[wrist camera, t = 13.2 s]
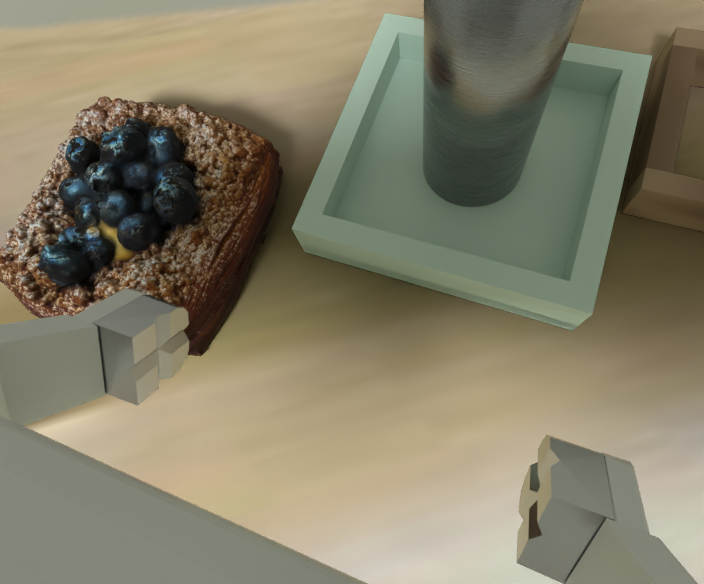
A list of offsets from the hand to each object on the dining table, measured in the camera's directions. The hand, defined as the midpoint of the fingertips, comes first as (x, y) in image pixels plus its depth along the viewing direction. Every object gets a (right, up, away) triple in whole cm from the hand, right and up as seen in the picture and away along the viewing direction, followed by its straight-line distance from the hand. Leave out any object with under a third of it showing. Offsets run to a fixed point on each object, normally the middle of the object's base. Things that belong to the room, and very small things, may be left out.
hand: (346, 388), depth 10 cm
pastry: (-9, +5, +14) cm, 17 cm away
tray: (+6, +8, +12) cm, 15 cm away
